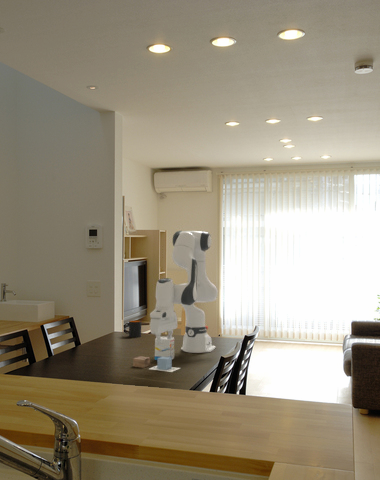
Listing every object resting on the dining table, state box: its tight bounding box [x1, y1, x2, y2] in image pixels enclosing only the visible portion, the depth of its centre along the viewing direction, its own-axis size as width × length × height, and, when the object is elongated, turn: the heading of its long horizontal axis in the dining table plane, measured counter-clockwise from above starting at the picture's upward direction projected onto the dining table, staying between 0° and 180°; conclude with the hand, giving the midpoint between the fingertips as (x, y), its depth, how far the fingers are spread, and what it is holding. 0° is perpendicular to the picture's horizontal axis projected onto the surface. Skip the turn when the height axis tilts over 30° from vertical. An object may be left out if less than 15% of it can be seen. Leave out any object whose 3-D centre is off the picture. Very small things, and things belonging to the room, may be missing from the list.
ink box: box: [154, 336, 175, 361], centre depth 256 cm, size 9×8×12 cm
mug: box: [123, 319, 142, 338], centre depth 330 cm, size 8×12×10 cm
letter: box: [148, 365, 181, 373], centre depth 233 cm, size 9×13×1 cm
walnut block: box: [132, 355, 151, 368], centre depth 239 cm, size 6×6×4 cm
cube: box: [156, 357, 173, 370], centre depth 233 cm, size 5×5×5 cm
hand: (164, 340), depth 234 cm, fingers open, 8 cm apart
